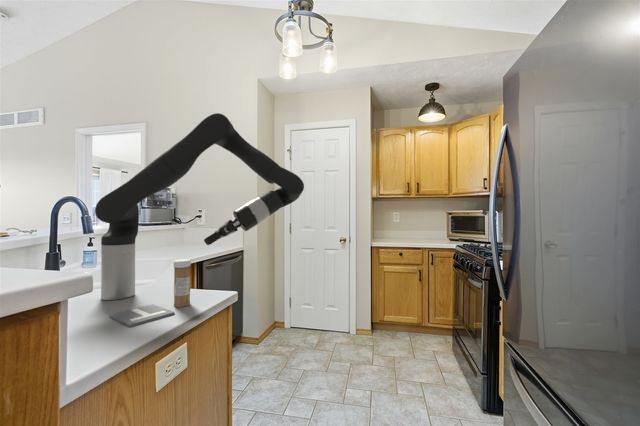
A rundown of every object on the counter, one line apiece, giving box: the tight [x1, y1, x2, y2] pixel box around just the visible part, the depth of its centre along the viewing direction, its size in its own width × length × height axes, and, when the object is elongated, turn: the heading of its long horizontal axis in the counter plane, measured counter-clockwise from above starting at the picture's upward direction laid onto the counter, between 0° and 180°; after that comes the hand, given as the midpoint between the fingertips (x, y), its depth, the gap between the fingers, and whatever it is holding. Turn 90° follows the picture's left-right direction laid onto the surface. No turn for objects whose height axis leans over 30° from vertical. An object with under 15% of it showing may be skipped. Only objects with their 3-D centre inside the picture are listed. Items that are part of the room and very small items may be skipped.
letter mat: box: [108, 303, 175, 328], centre depth 77 cm, size 12×11×1 cm
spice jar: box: [173, 258, 192, 308], centre depth 86 cm, size 5×5×14 cm
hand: (206, 242), depth 87 cm, fingers open, 8 cm apart
